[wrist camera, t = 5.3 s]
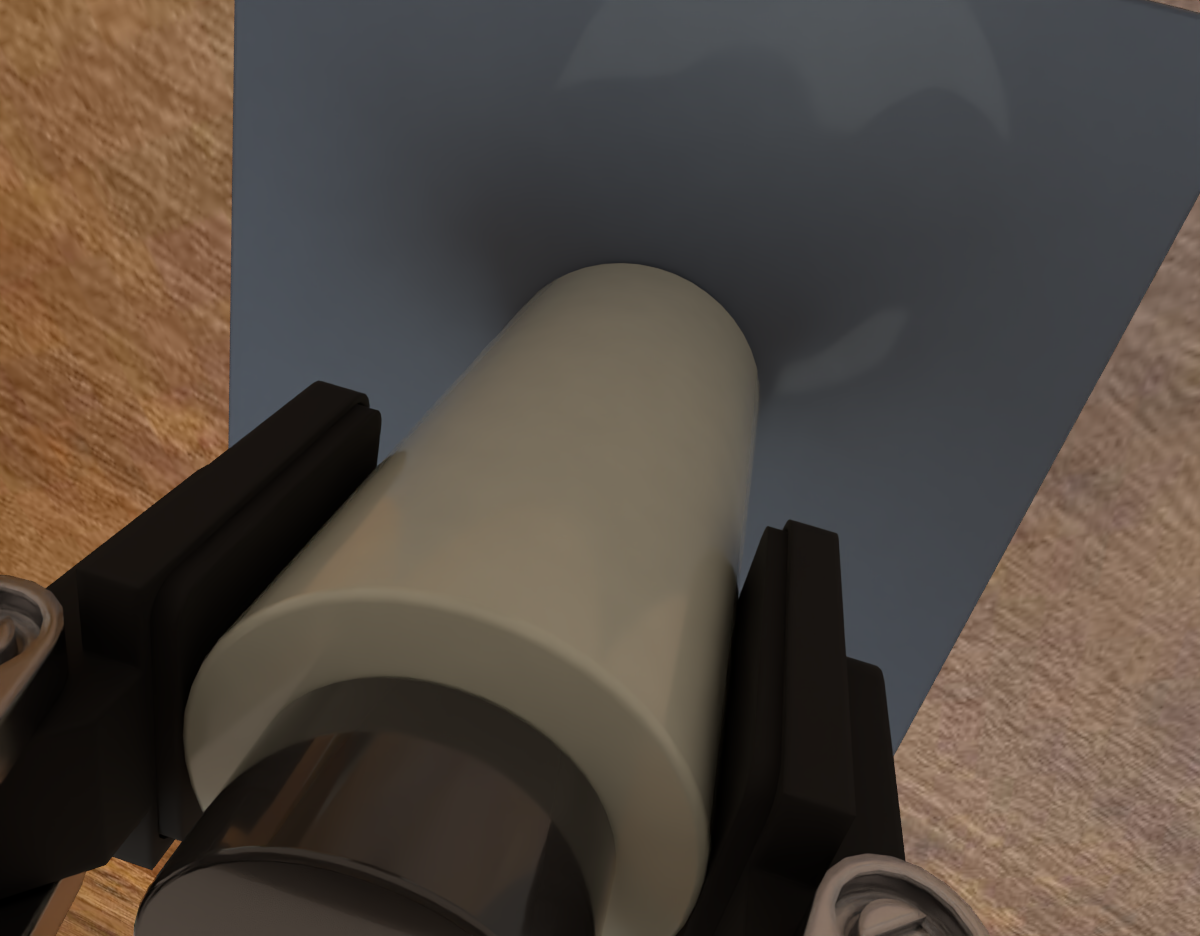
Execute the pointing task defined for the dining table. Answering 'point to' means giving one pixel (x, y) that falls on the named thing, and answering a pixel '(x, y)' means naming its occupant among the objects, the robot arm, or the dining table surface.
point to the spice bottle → (494, 651)
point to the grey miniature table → (736, 233)
